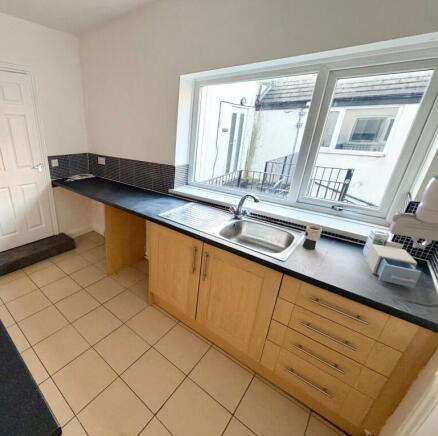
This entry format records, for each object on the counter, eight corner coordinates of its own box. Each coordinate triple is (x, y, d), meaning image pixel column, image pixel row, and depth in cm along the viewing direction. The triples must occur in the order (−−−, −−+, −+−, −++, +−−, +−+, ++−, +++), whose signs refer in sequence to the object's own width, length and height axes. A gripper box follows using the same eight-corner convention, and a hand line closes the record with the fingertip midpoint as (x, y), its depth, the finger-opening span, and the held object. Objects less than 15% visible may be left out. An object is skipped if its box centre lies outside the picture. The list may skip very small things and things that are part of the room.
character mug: (301, 242, 144) (306, 222, 139) (315, 246, 141) (321, 225, 136) (300, 250, 136) (306, 229, 131) (315, 254, 132) (322, 233, 127)
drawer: (418, 294, 99) (426, 278, 96) (382, 285, 104) (388, 269, 102) (402, 272, 114) (409, 258, 111) (371, 266, 119) (376, 252, 116)
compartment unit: (408, 281, 109) (417, 263, 105) (372, 273, 115) (379, 255, 111) (397, 266, 121) (405, 249, 117) (365, 260, 127) (371, 243, 123)
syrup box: (365, 257, 129) (375, 233, 123) (361, 252, 134) (371, 228, 128) (379, 260, 127) (390, 235, 121) (374, 254, 132) (384, 230, 126)
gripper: (398, 213, 96) (386, 245, 101) (475, 223, 86) (458, 257, 91) (393, 209, 101) (382, 239, 106) (465, 217, 92) (449, 250, 96)
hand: (418, 247), depth 98 cm, fingers closed
